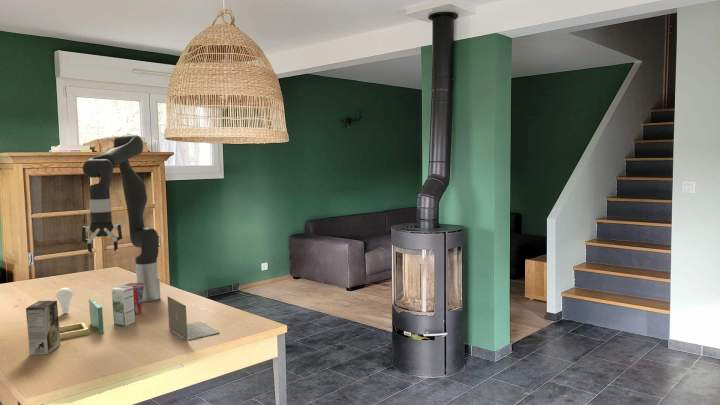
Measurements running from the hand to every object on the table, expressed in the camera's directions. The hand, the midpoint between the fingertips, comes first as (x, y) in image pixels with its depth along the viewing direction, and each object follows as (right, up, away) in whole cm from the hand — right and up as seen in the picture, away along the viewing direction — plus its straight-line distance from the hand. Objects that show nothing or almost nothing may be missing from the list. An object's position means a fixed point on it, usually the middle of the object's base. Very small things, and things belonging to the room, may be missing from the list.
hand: (103, 251), depth 214 cm
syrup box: (+8, -29, +1) cm, 30 cm away
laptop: (+39, -29, -11) cm, 50 cm away
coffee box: (-7, -31, -28) cm, 42 cm away
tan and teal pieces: (-5, -29, -9) cm, 31 cm away
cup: (+6, -27, +15) cm, 32 cm away
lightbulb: (-24, -28, +17) cm, 41 cm away
